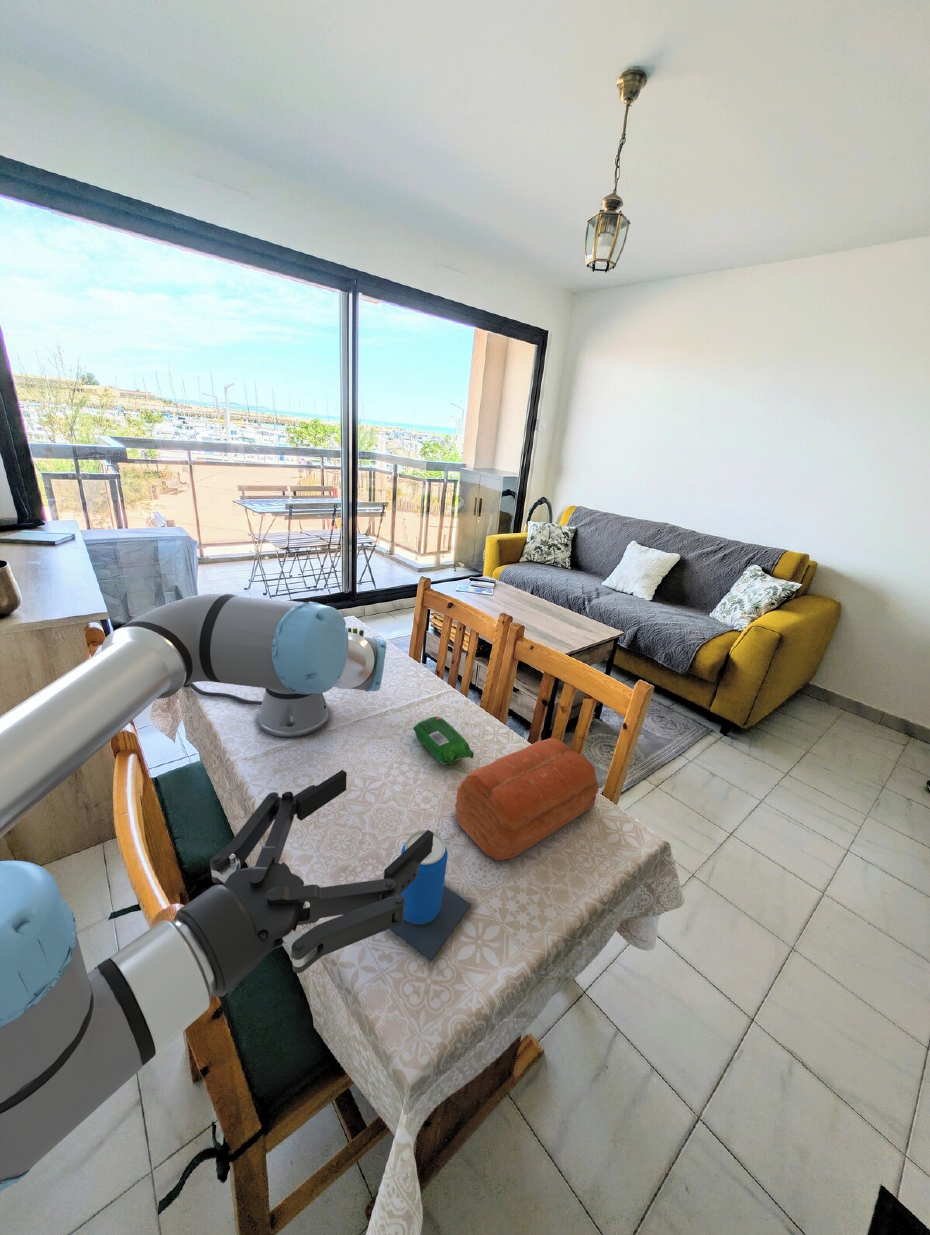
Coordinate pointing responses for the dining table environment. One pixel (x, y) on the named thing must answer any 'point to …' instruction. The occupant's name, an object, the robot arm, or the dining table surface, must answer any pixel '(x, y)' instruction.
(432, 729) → the snack package
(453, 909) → the slate mat
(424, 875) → the beverage can
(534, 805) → the bread
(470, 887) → the dining table surface
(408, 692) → the dining table surface
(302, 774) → the dining table surface
